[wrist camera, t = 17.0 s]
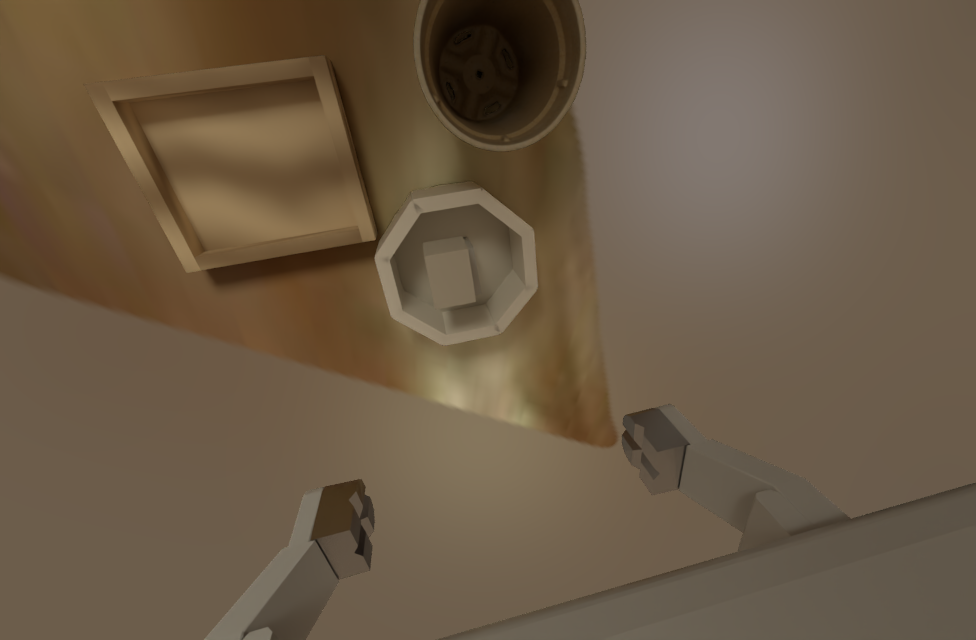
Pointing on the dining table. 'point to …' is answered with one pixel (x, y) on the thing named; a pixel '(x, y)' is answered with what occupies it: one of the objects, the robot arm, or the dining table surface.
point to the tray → (242, 159)
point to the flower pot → (500, 67)
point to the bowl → (498, 254)
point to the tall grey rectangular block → (473, 267)
